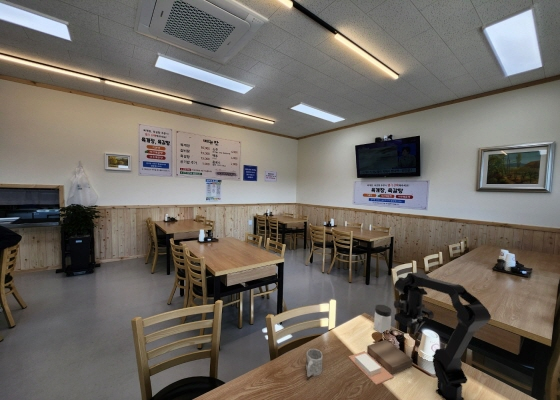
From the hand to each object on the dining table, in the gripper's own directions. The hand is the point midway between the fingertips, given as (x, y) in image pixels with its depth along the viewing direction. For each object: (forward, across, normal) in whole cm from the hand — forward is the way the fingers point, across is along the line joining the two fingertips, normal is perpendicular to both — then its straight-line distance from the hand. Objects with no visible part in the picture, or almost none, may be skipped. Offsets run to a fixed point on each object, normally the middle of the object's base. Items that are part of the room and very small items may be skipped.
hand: (413, 334), depth 103 cm
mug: (+12, +46, -11) cm, 49 cm away
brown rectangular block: (+12, +10, -4) cm, 16 cm away
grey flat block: (+10, +22, -4) cm, 25 cm away
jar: (+12, -6, -22) cm, 26 cm away
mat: (+12, +21, -4) cm, 25 cm away
